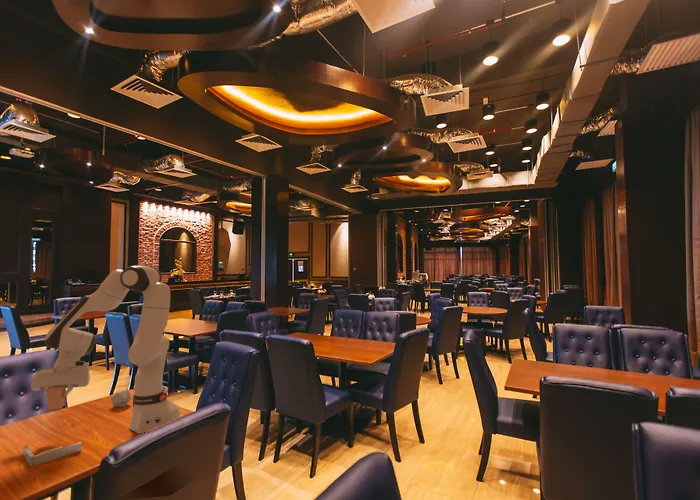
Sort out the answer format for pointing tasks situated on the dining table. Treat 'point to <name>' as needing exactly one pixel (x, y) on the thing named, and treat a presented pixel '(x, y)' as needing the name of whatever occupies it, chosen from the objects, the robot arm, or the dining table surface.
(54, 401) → the block
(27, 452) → the corner wall
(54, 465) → the dining table surface
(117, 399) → the grey faceted polyhedron
